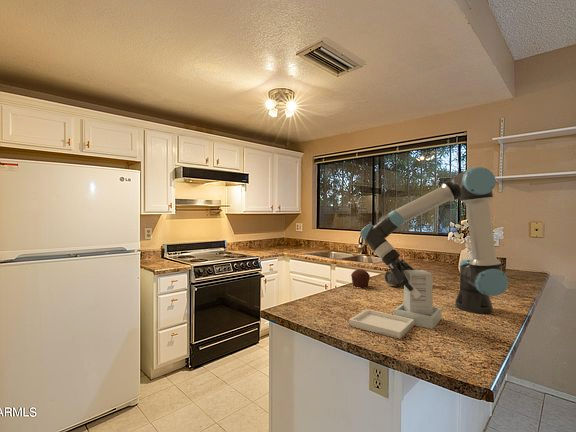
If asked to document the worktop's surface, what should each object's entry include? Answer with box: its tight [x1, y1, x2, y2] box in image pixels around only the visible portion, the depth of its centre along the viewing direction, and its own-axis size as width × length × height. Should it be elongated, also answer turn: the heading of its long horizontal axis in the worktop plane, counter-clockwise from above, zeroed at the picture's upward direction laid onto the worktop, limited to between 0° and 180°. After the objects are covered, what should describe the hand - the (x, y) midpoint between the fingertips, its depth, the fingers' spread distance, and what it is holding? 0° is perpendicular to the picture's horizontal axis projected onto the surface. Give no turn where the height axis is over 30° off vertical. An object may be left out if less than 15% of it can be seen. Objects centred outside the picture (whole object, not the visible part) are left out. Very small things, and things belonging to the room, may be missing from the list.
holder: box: [393, 302, 443, 330], centre depth 129 cm, size 15×15×4 cm
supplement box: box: [403, 269, 434, 315], centre depth 129 cm, size 10×9×17 cm
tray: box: [348, 308, 415, 340], centre depth 121 cm, size 20×17×2 cm
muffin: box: [350, 268, 371, 289], centre depth 186 cm, size 12×11×10 cm
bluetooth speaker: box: [384, 268, 420, 287], centre depth 189 cm, size 23×9×10 cm, turn 105°
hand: (423, 293), depth 127 cm, fingers closed on supplement box, 12 cm apart
